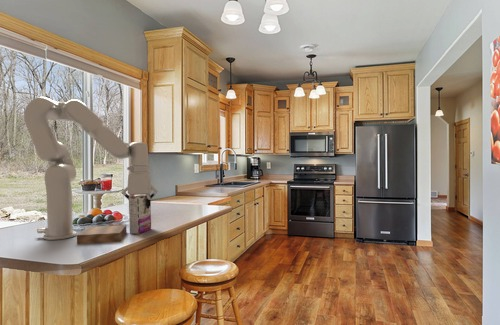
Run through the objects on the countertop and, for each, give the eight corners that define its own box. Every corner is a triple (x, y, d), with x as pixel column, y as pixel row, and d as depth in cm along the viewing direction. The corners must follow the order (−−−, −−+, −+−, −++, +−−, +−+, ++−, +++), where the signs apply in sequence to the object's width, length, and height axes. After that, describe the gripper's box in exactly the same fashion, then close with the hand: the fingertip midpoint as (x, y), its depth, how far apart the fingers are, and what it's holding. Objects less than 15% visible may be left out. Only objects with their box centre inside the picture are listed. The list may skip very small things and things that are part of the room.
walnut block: (77, 245, 132) (76, 235, 132) (88, 235, 147) (88, 226, 147) (119, 242, 135) (119, 232, 135) (126, 233, 150) (126, 225, 150)
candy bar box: (141, 228, 159) (141, 194, 158) (151, 228, 158) (151, 194, 157) (128, 234, 148) (128, 197, 147) (139, 234, 147) (138, 197, 146)
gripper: (117, 170, 147) (118, 210, 147) (158, 169, 150) (159, 209, 150) (120, 169, 154) (121, 208, 154) (159, 168, 157) (160, 206, 158)
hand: (140, 208), depth 152 cm, fingers closed on candy bar box, 6 cm apart
